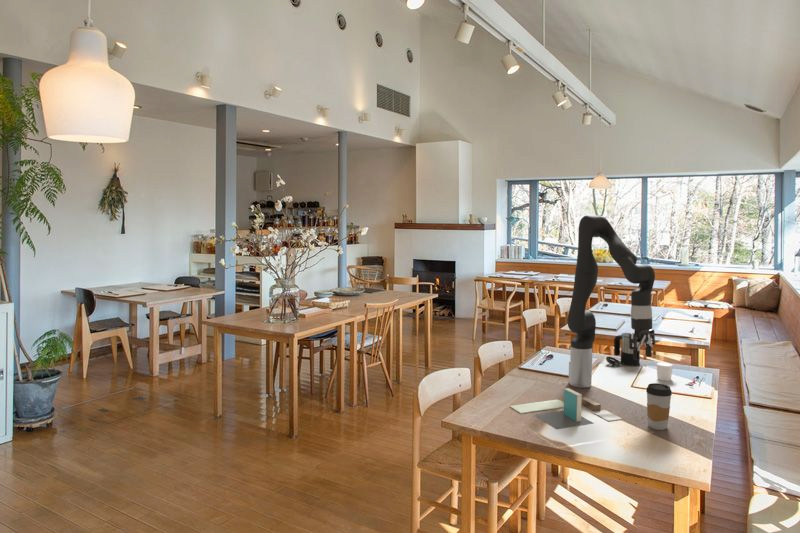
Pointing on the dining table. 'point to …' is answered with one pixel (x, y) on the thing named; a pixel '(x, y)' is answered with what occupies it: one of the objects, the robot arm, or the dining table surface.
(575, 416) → the tile
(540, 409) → the board
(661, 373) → the white cup
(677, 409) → the dining table surface
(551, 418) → the mat
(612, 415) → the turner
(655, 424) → the coffee cup
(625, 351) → the milk frother
